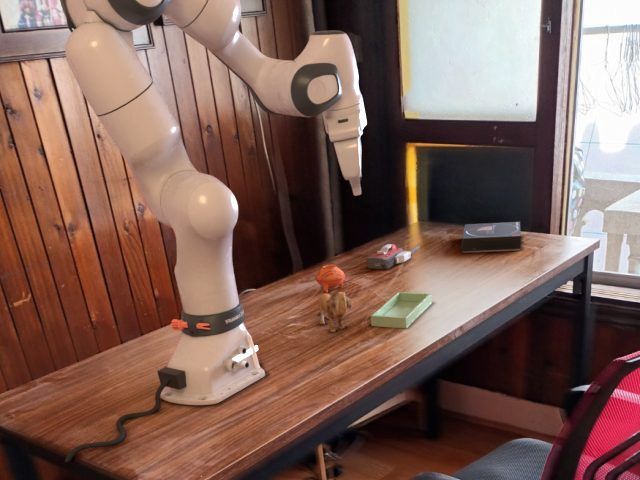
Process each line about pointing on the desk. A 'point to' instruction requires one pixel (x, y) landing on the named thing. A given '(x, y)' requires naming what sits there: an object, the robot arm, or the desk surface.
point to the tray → (401, 310)
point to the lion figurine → (334, 308)
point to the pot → (330, 277)
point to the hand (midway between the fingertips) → (357, 186)
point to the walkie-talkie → (389, 257)
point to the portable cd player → (491, 237)
